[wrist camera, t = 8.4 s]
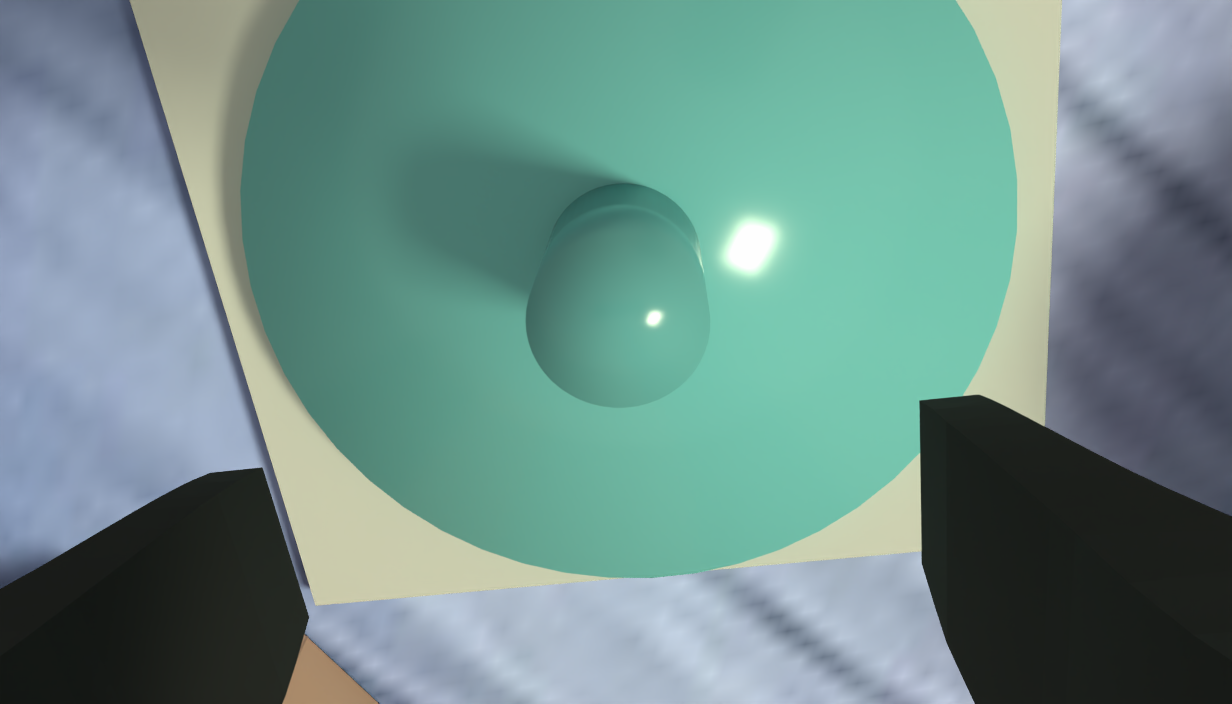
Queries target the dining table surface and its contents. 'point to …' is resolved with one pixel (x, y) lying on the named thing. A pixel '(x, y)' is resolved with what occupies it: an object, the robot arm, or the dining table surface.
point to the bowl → (322, 680)
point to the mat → (402, 541)
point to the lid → (628, 259)
